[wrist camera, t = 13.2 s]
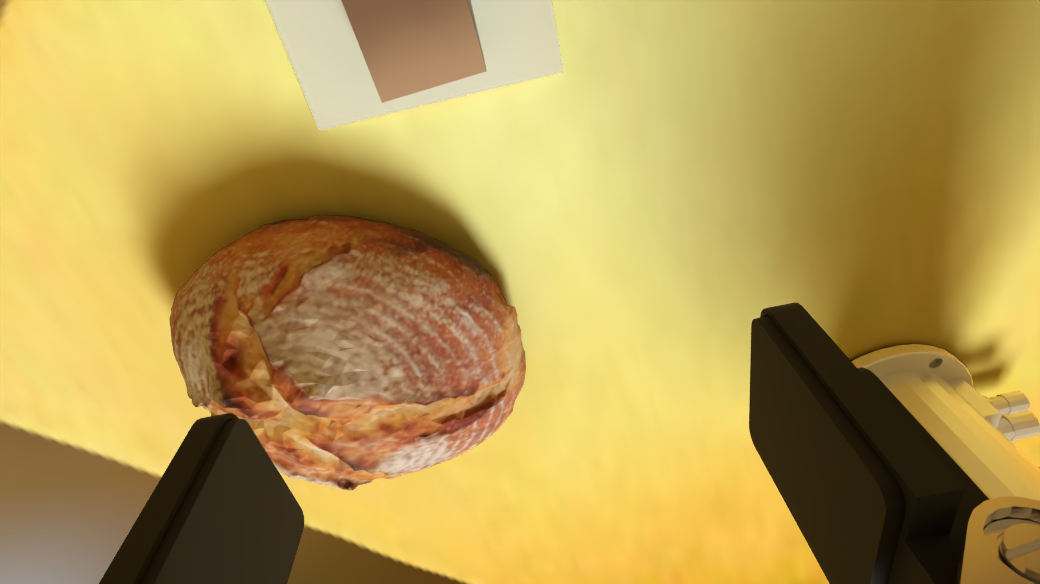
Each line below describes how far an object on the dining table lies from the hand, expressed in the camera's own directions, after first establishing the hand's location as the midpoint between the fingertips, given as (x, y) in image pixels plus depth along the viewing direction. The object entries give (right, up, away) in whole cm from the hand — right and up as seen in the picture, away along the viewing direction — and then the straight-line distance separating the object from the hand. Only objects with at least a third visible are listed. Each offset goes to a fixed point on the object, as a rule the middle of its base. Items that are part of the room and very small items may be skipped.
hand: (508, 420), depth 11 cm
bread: (-9, 0, +25) cm, 26 cm away
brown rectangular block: (-4, +15, +14) cm, 21 cm away
